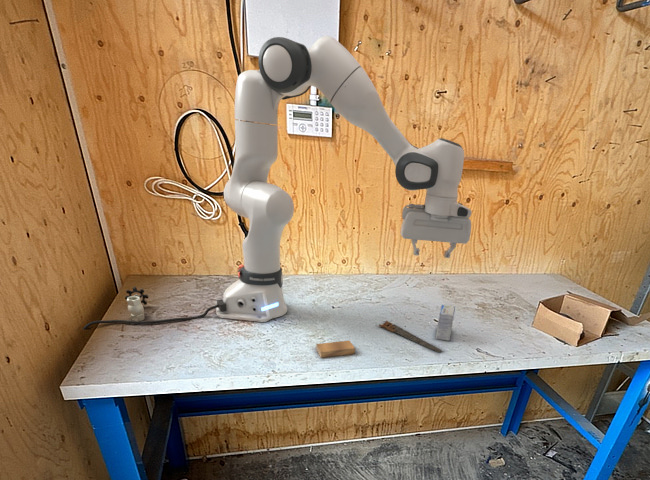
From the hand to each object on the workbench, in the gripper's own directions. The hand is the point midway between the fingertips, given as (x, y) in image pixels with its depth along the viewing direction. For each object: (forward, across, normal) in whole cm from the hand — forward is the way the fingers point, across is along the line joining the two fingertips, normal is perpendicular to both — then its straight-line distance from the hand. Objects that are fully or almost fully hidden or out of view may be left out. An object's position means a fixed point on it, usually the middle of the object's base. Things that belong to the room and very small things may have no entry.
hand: (431, 256), depth 129 cm
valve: (+26, -88, +3) cm, 92 cm away
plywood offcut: (+24, -28, -18) cm, 41 cm away
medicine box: (+23, +7, -5) cm, 25 cm away
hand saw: (+23, -5, -8) cm, 25 cm away
